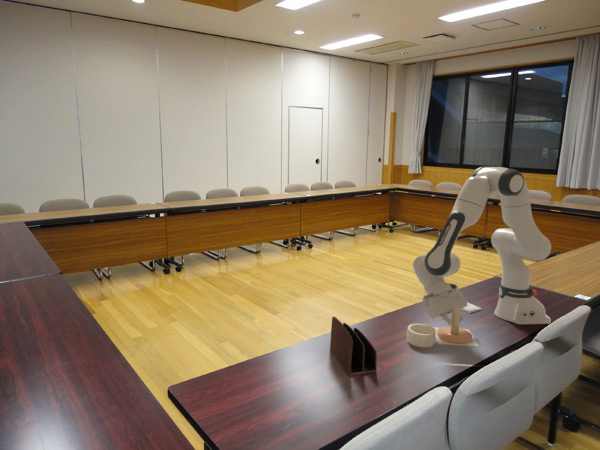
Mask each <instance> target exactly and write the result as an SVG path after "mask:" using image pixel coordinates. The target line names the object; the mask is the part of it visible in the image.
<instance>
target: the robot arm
mask: <svg viewBox="0 0 600 450" xmlns="http://www.w3.org/2000/svg"><path fill="white" fill-rule="evenodd" d="M491 195H499V196H500V199H499V200H500V208H501V209H500V210H501V215H502V220H503V222H504V224H505V225H506V226H507V227H506V228H505V227H504V228H503V227H502V228H500V227H499V228H498V229H496V230H495V231H494V232H493V233H492V234H491V238H490V240H491V245H492V247H493V248H494V249H495V251H496V252H497V253H498V255H499V259H500V262H501V267H502V268H501V269H502V271H501V282H500V284H499V289H498V300H497V304H496V307H495V309H494V312H493V314H494V315H495V316H496V317H498V318H499V319H502V320H504V321H507V322H512V323H514V324H517V325H546V324H547V325H549V324H551V323H552V320H551V317H550V316H549V315H547V314H546V307H545V305H544V304H543V303H542V302H541V301H539V300H538V298H536V297H535V296H537V295H538V291H537V290H536V289H533V288H532V287H530V282H531V274H532V273H531V272H532V271H531V269H530V267H529V266H528V265H527V264H526V263H525V262H524V259H523V258H525V259H526V260H527V259H529V260H538V261H543V260H545V259H546V258H547V257H549V256H550V254H551V251H552V245H551V241H550V239H549V238H548V237H546V236H545V235H544V234H543V233H542V232H541V231H540V229H539V227H538V226H537V224H536V223H535V221H534V218H533V212H532V207H531V197H530V191H529V188H528V185H527V182H526V180H525V177H524V175H523V174H522V173H521V171H520V170H517V169H514V168H507V167H502V166H487V165H485V166H479V167H478V168H476V169H475V170H474V171H473V172H472V173H471V175H470V177H468V178H467V179H466V180H465V182H464V184H463V185H462V187H461V189H460V191H459V192H458V195H457V197H456V200H455V202H454V205H453V208H452V210H451V212H450V214H449V216H448V218H447V220H446V222H445V224H444V226H443V228H442V230H441V233H440V234H439V236H438V239H437V240H436V242H435V244H434V246H433V247H432V248H431V249H430V250H429V251H428V252H427V253H423V254H421V255H419V256H417V257H415V259H414V261H413V262H412V269H413V272H414V273H415V276H416V277H417V279H418V281H419V282H420V283H421V285H422V286H423V290H424V291H425V293H426V294H425V295H424V296H422V302H423V303H424V307H425V310H426V312H427V314H428V316H429V317H430V318H431V319H435V318H439V317H441V318H442V320H444V321H445V322H446V323H447V325H448V326H451V325H452V324H454V322H453V320H452V318H450V317H449V315H448V314H452V309H453V308H455V307H458V308H459V309H460V310H461V309H463V308H465V307H466V306H467V302H468V301H467V299H466V297H465V295H464V294H463V293H462V291H460V290H459V287H458V285H457V284H455V283H451V282H450V283H449V282H446V281H445V279H444V278H446V277H449V276H452V275H454V274H456V273H457V272H458V271H459V270H460V267H461V261H460V258H459V257H458V255H457V254H455V253H453V252H452V250H453V248H454V247H455V244H456V242H457V240H458V238H459V236H460V234H461V232H463V231H464V230H465V229H466V228H468V227H470V226H471V227H472V226H473V225H475V224H476V223H477V222H478V221H479V220H480V218H481V216H482V214H483V211H484V210H485V207H486V205H487V201H488V198H489V196H491ZM508 227H509V228H508ZM462 311H463V310H461V315H460V323H461V322H463V321H464V320H465V318H464V317H463V312H462Z"/></svg>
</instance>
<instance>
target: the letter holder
mask: <svg viewBox="0 0 600 450" xmlns="http://www.w3.org/2000/svg"><path fill="white" fill-rule="evenodd" d="M330 328H331V330H330V342H329V343H330V344H329V347H330V350H331V351H332V353H333V355H335V357H336V359H337V360H338V362H339V363H340V365H341V366H342V368H343V369H344V371H345V372H346V374H347V375H348V377H353V376H360V375H361V376H362V375H368V374H376V373H377V366H378V365H377V362H378V361H377V360H378V359H377V357H378V356H377V351H376V349H375V347H374V346H373V343H372V342H370V340H369V339H368V338H367V337H366V336H365V335H364V333H363V332H362V331H361V330H359V329H358V328H357V327H354V328H352V327H351V326H350V325H349V324H348V323H346V322H343V323H342V322H341V321H340V319H338V318H337V317H336V316H332V317H331V327H330Z"/></svg>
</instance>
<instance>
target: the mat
mask: <svg viewBox="0 0 600 450" xmlns="http://www.w3.org/2000/svg"><path fill="white" fill-rule="evenodd" d="M432 327H433V328H434V329H435V331H436V335H435V340H436V341H437V343H438V345H447V346H464V347H465V346H466V347H480V345H479V343H478V342H477V340H476V339H475V337H474V335H473V334H472V332H471V331H470V329H469V328H463V329H464V330H466V331H468V332H470V333H471V335H472V340H471V342H469V343H466V344H455V343H450V342H447V341H444V340H442V339H441V338H439V337H438V335H437V330H438V329H439V328H440V327H437V326H436V327H435V326H432Z"/></svg>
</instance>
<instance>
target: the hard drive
mask: <svg viewBox="0 0 600 450" xmlns="http://www.w3.org/2000/svg"><path fill="white" fill-rule="evenodd" d="M479 310H480V311H482V310H483V309H482V307H480V306H478V305H474V304H472V303H470V302H468V301H467V306H466V307H465V308H463V309H461V311H463V312H466V313H468V314H472V313H476V312H479Z"/></svg>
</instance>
